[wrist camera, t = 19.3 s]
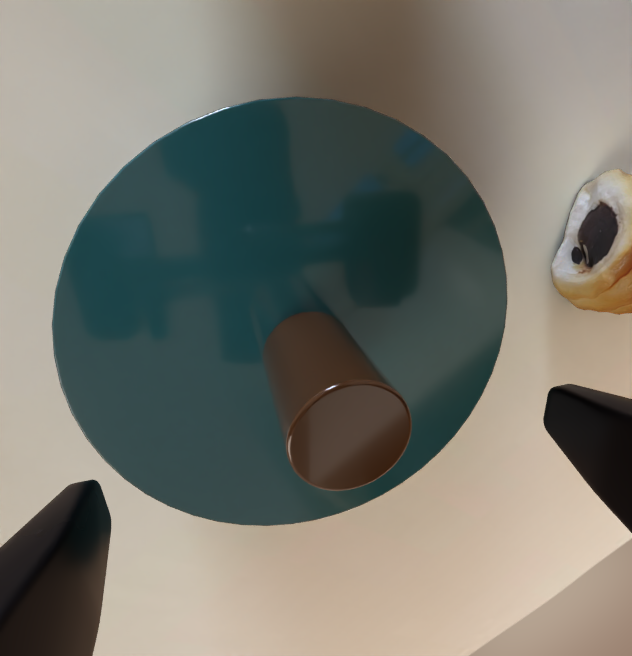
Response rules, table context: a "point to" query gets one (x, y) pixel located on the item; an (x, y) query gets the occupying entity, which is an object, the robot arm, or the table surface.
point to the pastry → (598, 247)
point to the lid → (279, 311)
